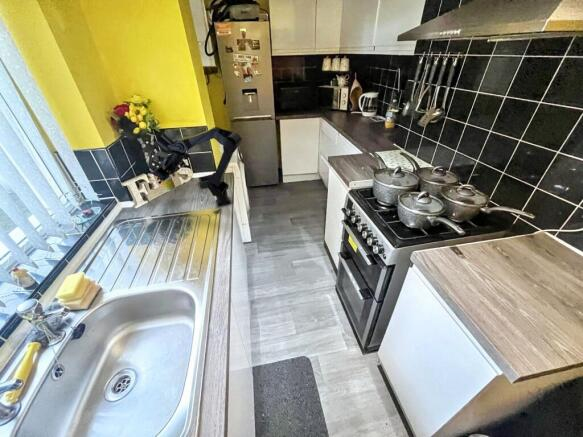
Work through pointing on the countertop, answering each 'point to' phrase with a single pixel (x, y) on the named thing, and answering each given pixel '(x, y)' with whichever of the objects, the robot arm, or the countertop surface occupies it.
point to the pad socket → (204, 180)
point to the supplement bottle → (168, 184)
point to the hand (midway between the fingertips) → (163, 177)
